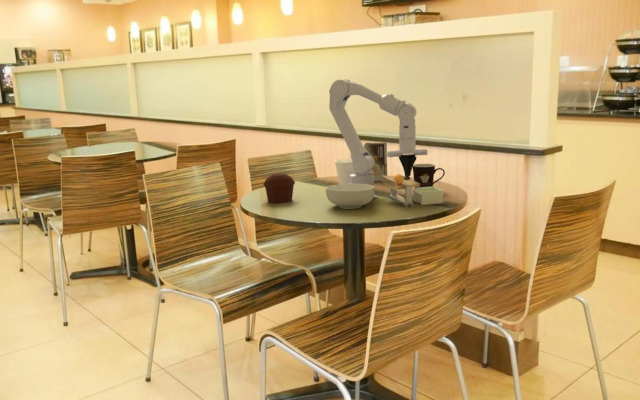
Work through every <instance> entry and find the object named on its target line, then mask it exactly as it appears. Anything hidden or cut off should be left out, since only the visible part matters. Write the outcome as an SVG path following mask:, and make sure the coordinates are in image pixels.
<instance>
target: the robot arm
mask: <svg viewBox="0 0 640 400" xmlns="http://www.w3.org/2000/svg"><path fill="white" fill-rule="evenodd" d="M328 93H329V103H328V105H329V111H330V113H331V115H332V117H333V119H334V122H335V123H336V125H337V127H338V129H339V131H340V133H341V135H342V137H343V139H344V142H345V144H346V146H347V147H348V150H349V153H350V159H352V162H353V169H354V171H355V172H354V174H352V175H349V176H348V183H359V184H369V185H373V186H374V187H375V181H374V172H373V170H372V168H373V167H374V165H375V160H374V158H373V157H372V156H371V155H370V154H369V153H368V151H367V149H366V148H365V147H364V144H363V143H362V141H361V138H360V137H359V135H358V133H357V131H356V129H355V127H354V124H353V123H352V121H351V118H350V116H349V115H348V112H347V110H346V108H345V106H346V105H347V102H348V100H349V98H350V97H352V96H360V97H363V98H365V99H367V100H370V101H371V102H374V103H377V104H378V106H379V109H380V110H383V111H385V112H386V113H388V114H391V115H393V116H395V117H398V119H399V125H398V128H399V130H398V133H399V134H398V135H399V138H398V141H399V142H398V144H399V146H398V147H399V149H398V150H389V151H388V150H387V158H395V157H396V158H397V157H398V159H399V162H400V163H401V166H402V169H403V172H404V176H409V177H411V174H412V171H413V165H415V163H416V161H417V156H428V151H429V150H428V149H425V148H424V149H418V148H417V149H416V137H417V136H416V135H417V134H416V131H417V130H416V118H415V117H416V116H417V108H416V107H415V105H413V104H412V103H409V102H408V103H407V101H406V100H401V99H398V98H397V97H395V95H394V94H393V93H390V94H389V93H386V94H384V95H381V94H380V93H378V92H376V91H375V90H372V89H370V88H369V87H367V86H365V85H363V84H362V83H358V82H356V81H352V80H350V79H336V80H334V81H333V82H332V83H331V86H330V88H329V90H328ZM377 198H379V197H378V196H377V195H376V194H374V197H373V199H377Z"/></svg>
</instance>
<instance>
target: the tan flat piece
mask: <svg viewBox="0 0 640 400" xmlns="http://www.w3.org/2000/svg"><path fill="white" fill-rule="evenodd" d="M402 176H403V177H404V182H403V183H402V184H400V185H397V182H396V181H394V179H390V177H389V176H387V177H386V176H382V181H381V182H382V184H383V185H385V186H387V187H388V188H392V189H394V190H397V191H398V190H405V186H407V185H411V186H412V188H415V187H419V186H420V183H418V182H415V181H414V179H411V176H405V175H402Z"/></svg>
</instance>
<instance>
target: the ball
mask: <svg viewBox="0 0 640 400" xmlns="http://www.w3.org/2000/svg"><path fill="white" fill-rule="evenodd" d="M403 176H404V175H402V174H399V173H398V174H395V175H394V177H393V178H394V181H396V182H397V185H400V184H402V183H403V182H404V177H403Z"/></svg>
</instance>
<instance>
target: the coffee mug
mask: <svg viewBox="0 0 640 400" xmlns="http://www.w3.org/2000/svg"><path fill="white" fill-rule="evenodd" d="M438 170H441V171H442V172H443V174H442V176H441V177H439V178H438V179H436V180H435V181H434V177H435V174H436V172H437V171H438ZM412 175H413V181H415V182H418V183H420V186H419V187H414V189H415V188H420V187H434V185H435V184H436V183H437V182H439V181H440V180H442V178H443V177H444V176H445V175H446V172H445V169H443V168H442V167H437V168H436V164H433V163H416V164H415V163H414V165H413V167H412Z"/></svg>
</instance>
